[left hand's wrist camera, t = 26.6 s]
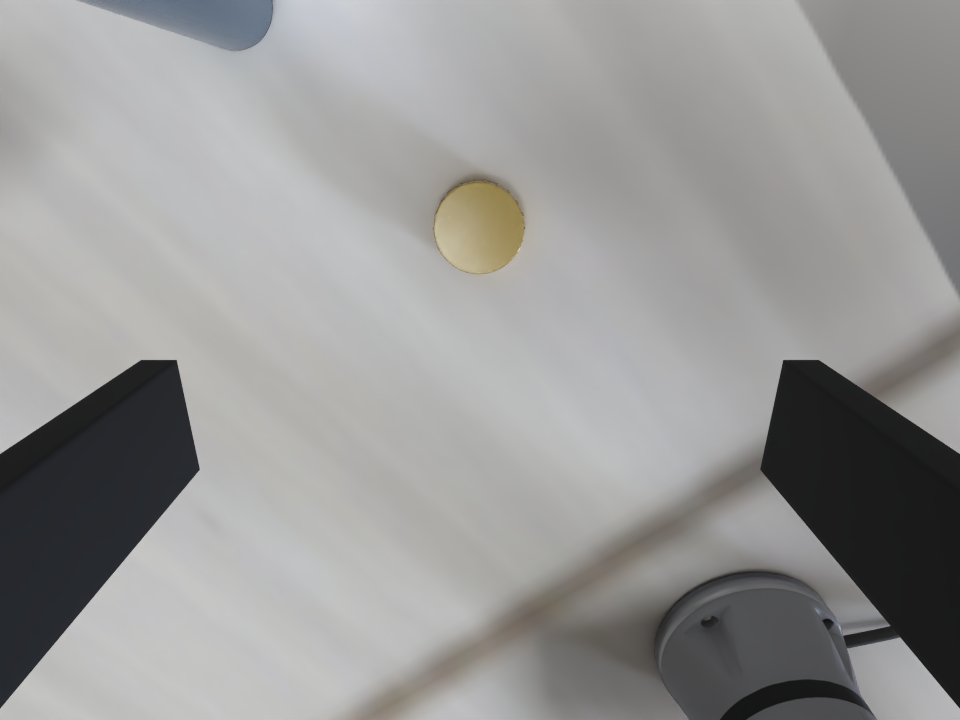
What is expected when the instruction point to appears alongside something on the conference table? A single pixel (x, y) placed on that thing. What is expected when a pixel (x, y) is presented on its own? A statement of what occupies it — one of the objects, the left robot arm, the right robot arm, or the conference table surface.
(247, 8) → the jar
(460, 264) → the lid
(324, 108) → the conference table surface
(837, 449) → the left robot arm
